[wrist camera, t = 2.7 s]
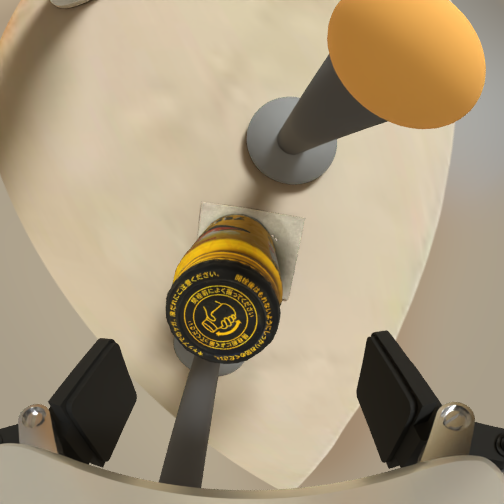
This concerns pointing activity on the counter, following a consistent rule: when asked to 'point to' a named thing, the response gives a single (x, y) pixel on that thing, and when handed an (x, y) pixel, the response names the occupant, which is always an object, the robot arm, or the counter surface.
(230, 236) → the condiment
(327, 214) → the counter surface
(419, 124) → the stand
